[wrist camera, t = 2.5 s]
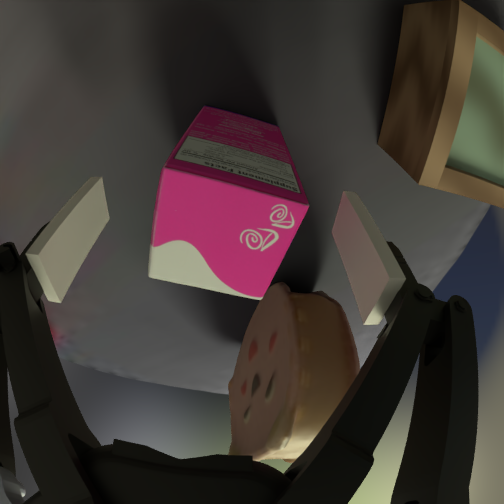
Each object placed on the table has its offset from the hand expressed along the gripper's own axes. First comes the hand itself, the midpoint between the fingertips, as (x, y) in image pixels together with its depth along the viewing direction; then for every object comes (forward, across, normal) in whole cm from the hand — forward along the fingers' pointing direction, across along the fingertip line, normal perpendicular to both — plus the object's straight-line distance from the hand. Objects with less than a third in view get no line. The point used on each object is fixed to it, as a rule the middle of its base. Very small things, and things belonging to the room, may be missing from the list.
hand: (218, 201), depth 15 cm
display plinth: (+7, +17, +8) cm, 21 cm away
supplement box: (+8, 0, 0) cm, 8 cm away
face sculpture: (+8, +6, -20) cm, 22 cm away
